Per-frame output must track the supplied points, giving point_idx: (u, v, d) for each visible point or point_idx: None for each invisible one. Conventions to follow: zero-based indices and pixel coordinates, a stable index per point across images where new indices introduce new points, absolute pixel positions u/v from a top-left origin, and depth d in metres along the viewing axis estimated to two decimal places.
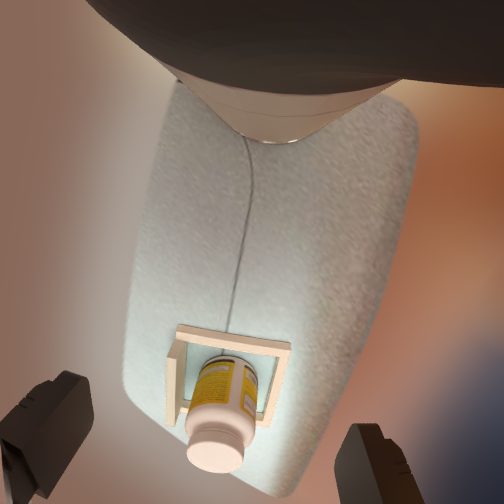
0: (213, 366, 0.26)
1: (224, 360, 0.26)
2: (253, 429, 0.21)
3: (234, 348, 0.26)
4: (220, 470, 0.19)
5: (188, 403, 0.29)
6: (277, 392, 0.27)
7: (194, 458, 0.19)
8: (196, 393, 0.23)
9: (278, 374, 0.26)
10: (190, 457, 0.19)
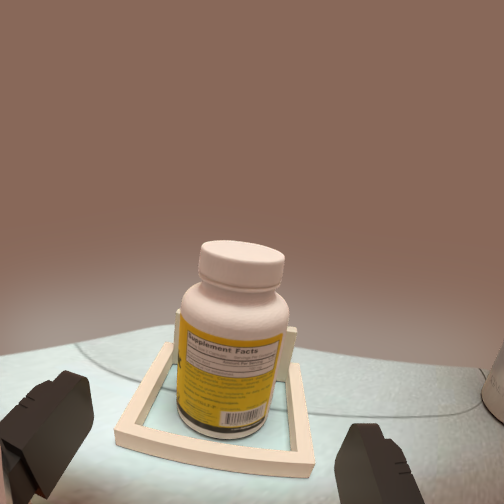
0: None
1: None
2: (252, 328, 0.13)
3: (295, 405, 0.17)
4: (211, 247, 0.15)
5: (170, 362, 0.21)
6: (214, 450, 0.13)
7: (236, 243, 0.17)
8: None
9: (259, 452, 0.13)
10: (236, 241, 0.17)
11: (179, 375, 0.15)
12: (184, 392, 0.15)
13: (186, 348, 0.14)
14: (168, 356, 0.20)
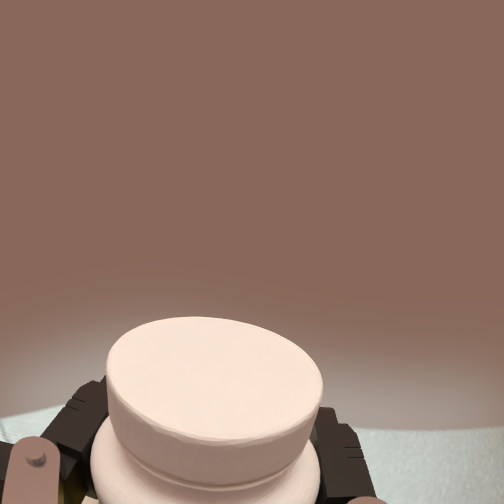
0: None
1: None
2: None
3: None
4: (129, 361, 0.05)
5: None
6: None
7: (205, 326, 0.07)
8: None
9: None
10: (206, 320, 0.07)
11: None
12: None
13: None
14: None
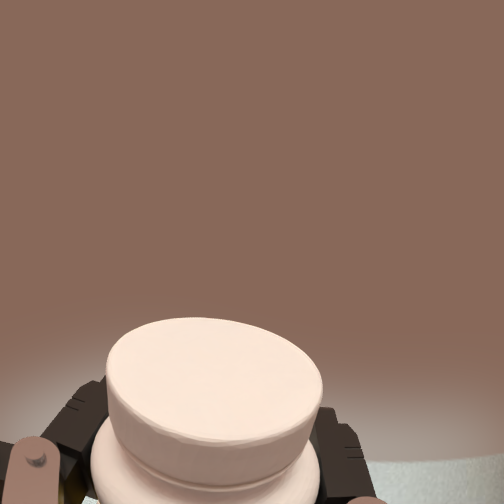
0: None
1: None
2: None
3: None
4: (129, 362, 0.05)
5: None
6: None
7: (205, 326, 0.07)
8: None
9: None
10: (206, 321, 0.07)
11: None
12: None
13: None
14: None
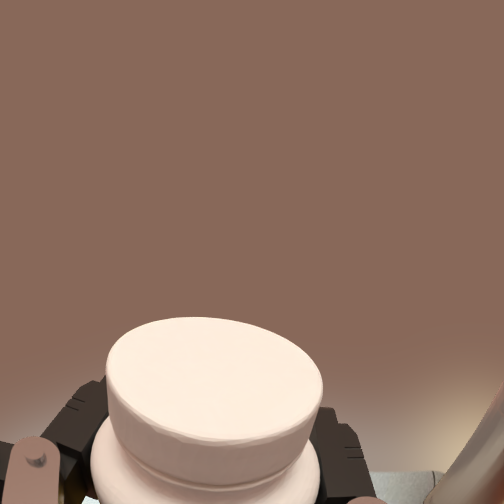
0: None
1: None
2: None
3: None
4: (129, 361, 0.05)
5: None
6: None
7: (205, 326, 0.07)
8: None
9: None
10: (206, 320, 0.07)
11: None
12: None
13: None
14: None
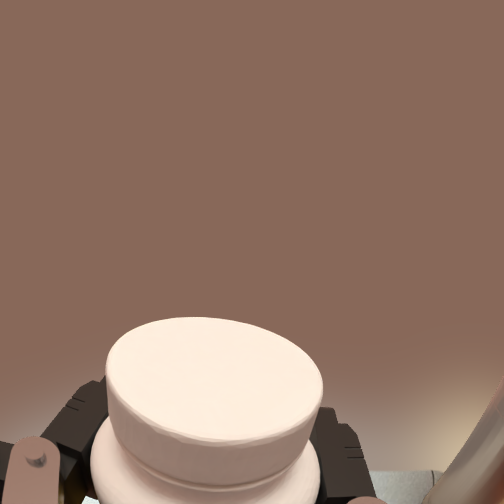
0: None
1: None
2: None
3: None
4: (129, 361, 0.05)
5: None
6: None
7: (205, 326, 0.07)
8: None
9: None
10: (206, 320, 0.07)
11: None
12: None
13: None
14: None
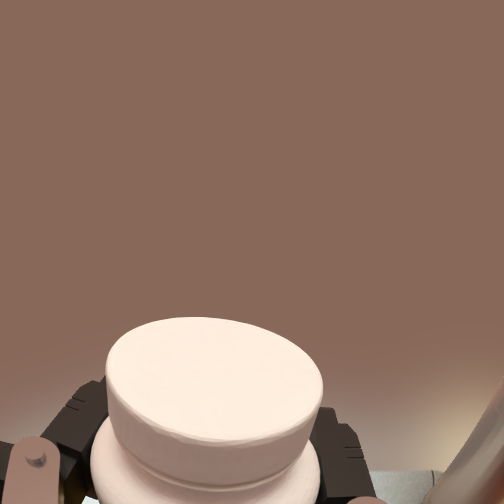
0: None
1: None
2: None
3: None
4: (129, 361, 0.05)
5: None
6: None
7: (205, 326, 0.07)
8: None
9: None
10: (206, 320, 0.07)
11: None
12: None
13: None
14: None
